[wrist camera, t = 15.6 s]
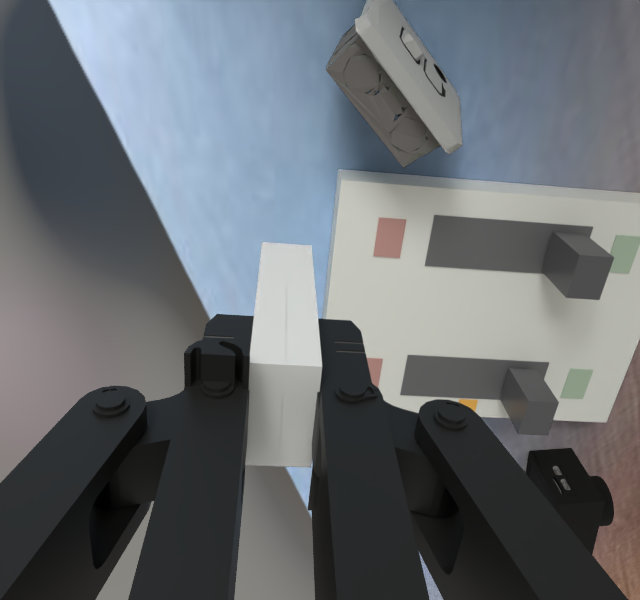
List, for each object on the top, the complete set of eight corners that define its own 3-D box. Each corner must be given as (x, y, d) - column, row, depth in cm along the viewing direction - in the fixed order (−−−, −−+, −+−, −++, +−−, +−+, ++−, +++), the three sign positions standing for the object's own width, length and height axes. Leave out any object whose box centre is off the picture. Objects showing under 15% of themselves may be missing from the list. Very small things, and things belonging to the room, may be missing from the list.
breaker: (553, 231, 42) (579, 255, 38) (584, 233, 43) (614, 257, 39) (541, 271, 44) (566, 297, 40) (571, 273, 44) (599, 300, 40)
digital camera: (568, 521, 62) (599, 579, 56) (517, 525, 62) (543, 583, 56) (583, 446, 57) (619, 500, 51) (528, 450, 57) (558, 505, 51)
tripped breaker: (509, 368, 48) (528, 401, 44) (537, 369, 48) (559, 402, 44) (499, 399, 49) (518, 434, 45) (527, 400, 49) (547, 435, 46)
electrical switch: (459, 96, 41) (488, 130, 33) (400, 143, 43) (414, 186, 35) (379, -19, 38) (390, -11, 30) (319, 37, 40) (314, 59, 32)
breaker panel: (338, 169, 43) (341, 180, 40) (668, 195, 45) (692, 208, 43) (314, 388, 52) (316, 410, 50) (590, 401, 54) (606, 423, 52)
